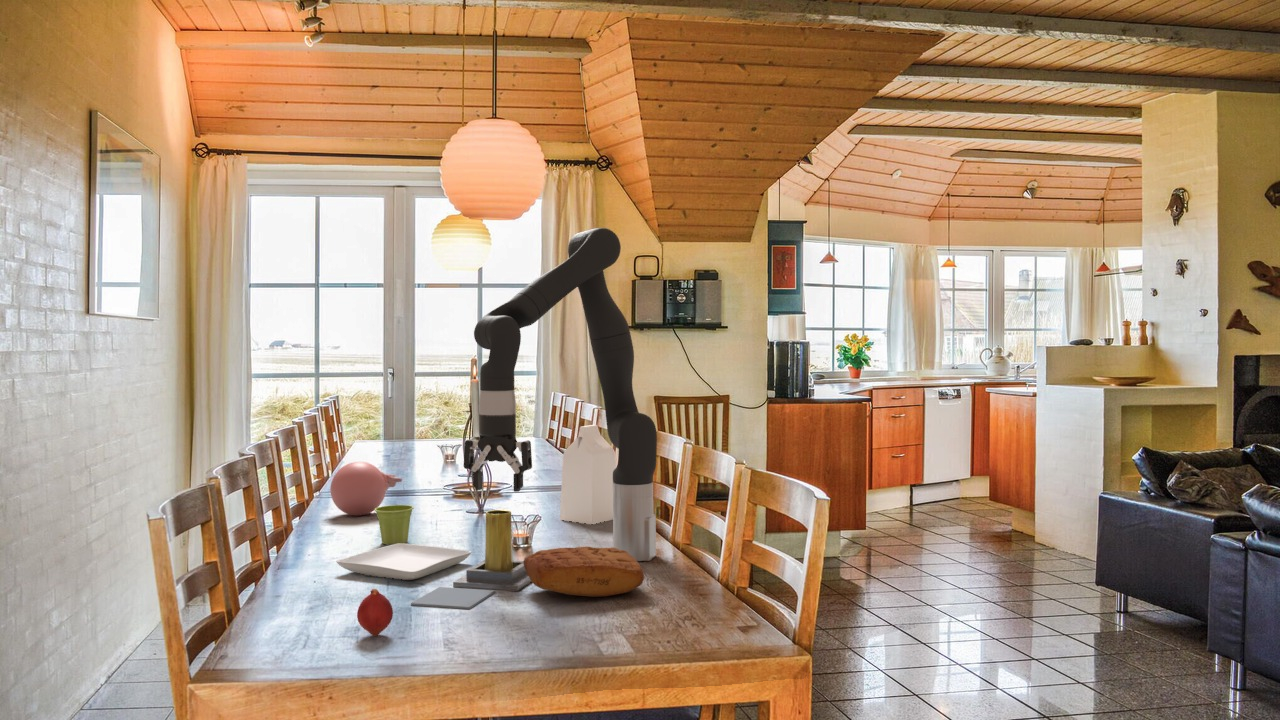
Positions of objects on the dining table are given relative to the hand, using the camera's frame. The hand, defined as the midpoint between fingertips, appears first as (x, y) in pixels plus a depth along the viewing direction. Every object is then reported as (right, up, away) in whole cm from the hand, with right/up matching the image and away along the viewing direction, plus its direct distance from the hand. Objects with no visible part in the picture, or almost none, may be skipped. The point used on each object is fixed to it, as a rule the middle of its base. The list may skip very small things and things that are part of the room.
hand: (497, 490), depth 196 cm
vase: (0, -19, 0) cm, 19 cm away
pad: (-6, -19, -13) cm, 24 cm away
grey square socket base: (0, -19, 0) cm, 19 cm away
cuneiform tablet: (+18, -19, -10) cm, 28 cm away
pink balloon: (-49, -18, +77) cm, 93 cm away
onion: (-15, -20, -36) cm, 44 cm away
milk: (+15, -18, +68) cm, 72 cm away
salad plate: (-22, -19, +11) cm, 31 cm away
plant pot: (-31, -19, +38) cm, 53 cm away
